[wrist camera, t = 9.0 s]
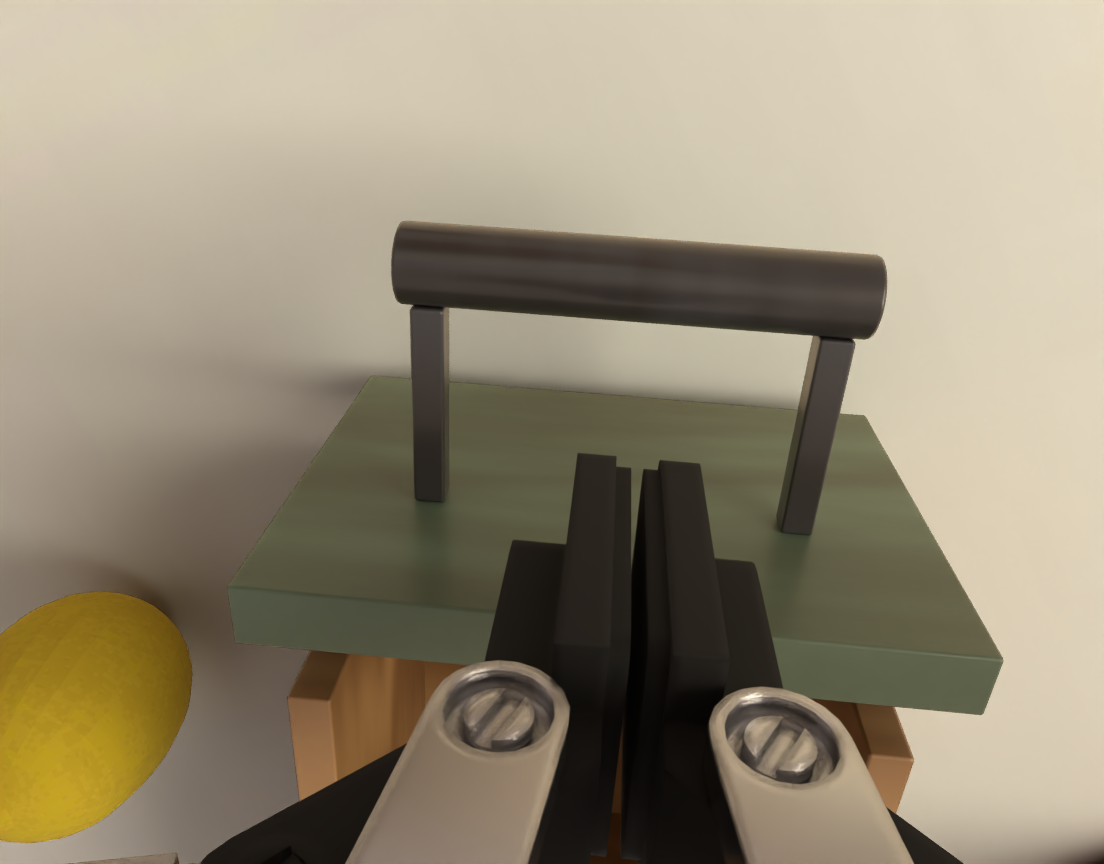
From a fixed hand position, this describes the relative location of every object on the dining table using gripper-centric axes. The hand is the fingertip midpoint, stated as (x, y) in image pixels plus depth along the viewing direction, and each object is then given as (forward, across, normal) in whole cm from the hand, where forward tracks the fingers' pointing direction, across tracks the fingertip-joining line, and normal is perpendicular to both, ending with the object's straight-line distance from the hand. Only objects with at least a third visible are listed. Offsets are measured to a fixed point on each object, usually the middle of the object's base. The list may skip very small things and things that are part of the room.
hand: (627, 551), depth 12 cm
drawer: (+10, 0, +7) cm, 12 cm away
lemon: (+11, +14, +11) cm, 21 cm away
